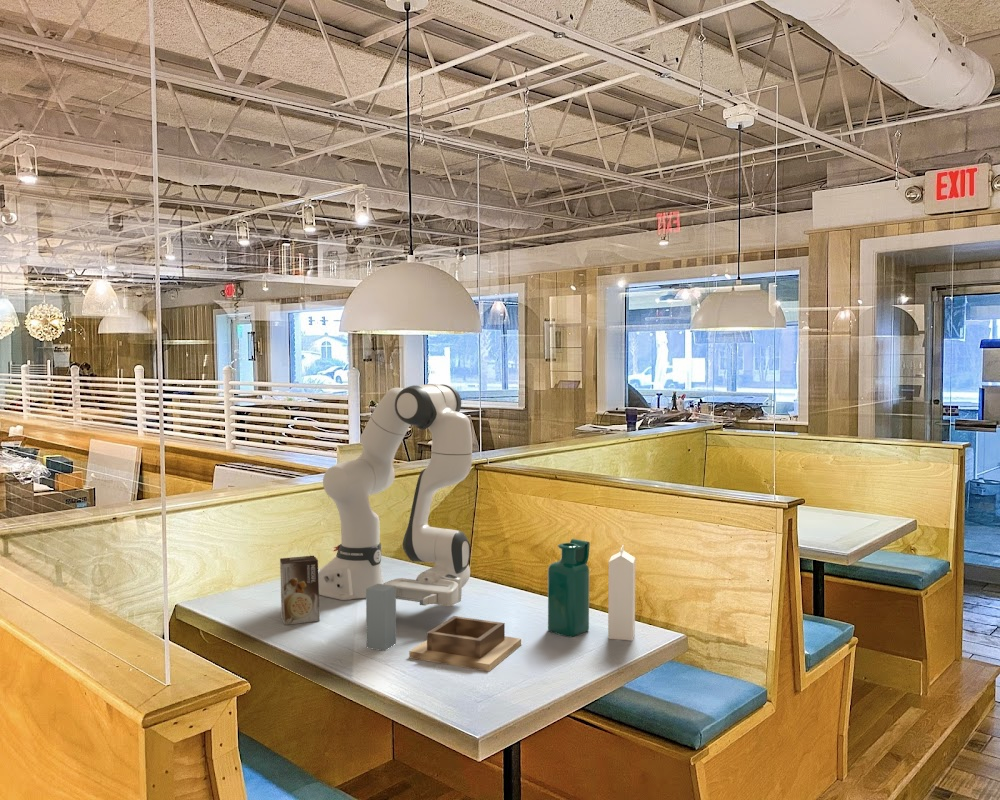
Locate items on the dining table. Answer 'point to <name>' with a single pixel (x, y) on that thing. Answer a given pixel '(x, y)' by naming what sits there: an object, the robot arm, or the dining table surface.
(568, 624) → the green tall squared bottle
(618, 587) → the milk
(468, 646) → the caddy
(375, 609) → the grey block
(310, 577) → the coffee box
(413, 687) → the dining table surface
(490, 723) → the dining table surface
